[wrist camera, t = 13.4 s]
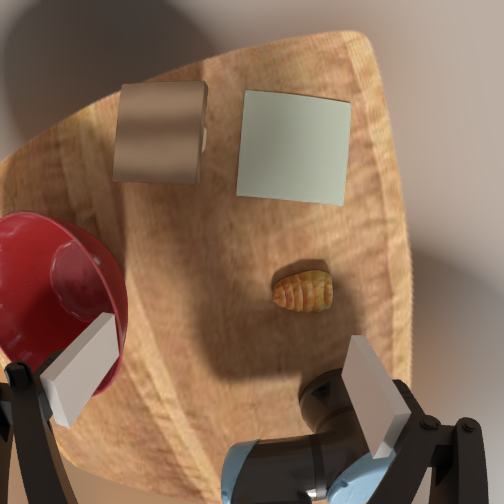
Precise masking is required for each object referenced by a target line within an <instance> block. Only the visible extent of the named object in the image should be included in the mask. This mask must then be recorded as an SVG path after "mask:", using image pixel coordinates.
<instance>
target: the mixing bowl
mask: <svg viewBox="0 0 504 504" xmlns="http://www.w3.org/2000/svg"><path fill="white" fill-rule="evenodd" d="M103 312H104V313H110V314H114V315H115V325H116V334H117V342H118V350H119V356H118V358H117V359H116V361H115V362H114V364H113V365H112V367H111V368H110V369H109V371H108V372H107V374H106V375H105V377H104V378H103V380H102V381H101V382H100V384H99V385H98V387H97V388H96V390H95V391H94V393H93V394H92V396H91V397H93V396H96V395H98V394H100V393H102V392H104V391H105V390H106V389H108V388H109V387H110V385H111V384H112V383H113V382H114V380H115V378H116V377H117V374H118V372H119V370H120V367H121V362H122V355H123V347H124V343H125V338H126V332H127V324H128V298H127V291H126V286H125V281H124V278H123V275H122V272H121V270H120V267H119V265H118V264H117V262H116V260H115V258H114V257H113V255H112V254H111V253H110V251H109V250H108V249H107V248H106V247H105V246H104V245H103V244H102V243H101V242H100V241H99V240H98V239H97V238H96V237H94V236H93V235H91V234H90V233H89V232H87V231H85V230H83V229H82V228H80V227H78V226H76V225H74V224H71V223H69V222H66V221H63V220H60V219H57V218H53V217H49V216H46V215H43V214H40V213H37V212H32V211H17V212H13V213H10V214H7V215H6V216H4V217H2V218H1V219H0V348H1V350H2V351H3V352H4V354H5V355H6V356H7V358H8V359H9V360H10V361H11V362H15V361H24V362H27V363H28V364H29V365H30V368H31V371H32V373H33V372H34V371H35V370H36V369H37V368H38V367H39V366H40V365H41V364H43V362H44V361H45V360H46V359H47V358H48V357H49V356H50V355H51V354H52V353H53V352H55V351H57V350H59V349H63V350H65V349H66V348H67V347H68V346H69V345H70V344H71V343H72V342H73V341H74V340H75V339H76V338H77V337H78V336H79V335H80V334H81V333H82V332H83V331H84V330H85V329H86V328H87V327H88V326H89V325H90V324H91V323H92V322H93V321H94V320H95V319H96V318H97V317H98V316H99V315H100V314H102V313H103Z"/></svg>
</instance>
